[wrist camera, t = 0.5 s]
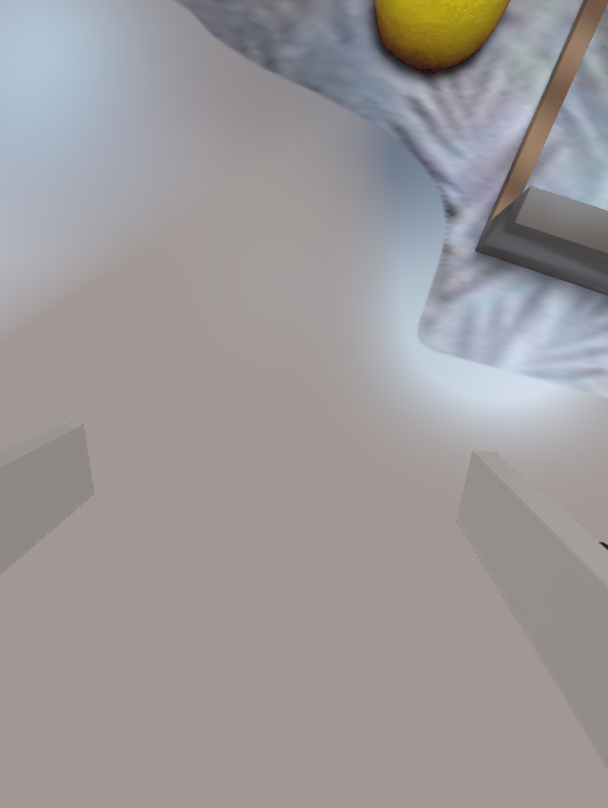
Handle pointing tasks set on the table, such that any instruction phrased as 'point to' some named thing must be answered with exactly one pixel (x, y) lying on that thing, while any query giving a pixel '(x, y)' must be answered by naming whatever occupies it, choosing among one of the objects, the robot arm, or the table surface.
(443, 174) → the table surface
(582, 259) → the guide track
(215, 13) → the table surface
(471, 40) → the fruit
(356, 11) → the table surface
